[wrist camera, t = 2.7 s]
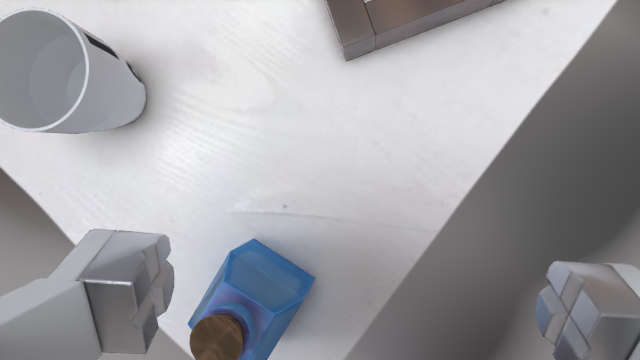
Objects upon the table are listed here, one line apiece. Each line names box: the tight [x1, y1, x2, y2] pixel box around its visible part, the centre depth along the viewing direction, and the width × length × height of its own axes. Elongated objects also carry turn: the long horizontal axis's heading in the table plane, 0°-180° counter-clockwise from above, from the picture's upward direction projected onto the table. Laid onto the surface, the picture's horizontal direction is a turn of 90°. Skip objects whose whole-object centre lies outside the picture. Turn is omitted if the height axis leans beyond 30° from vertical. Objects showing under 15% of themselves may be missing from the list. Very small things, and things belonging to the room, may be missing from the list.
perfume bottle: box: [188, 239, 315, 360], centre depth 31 cm, size 6×6×12 cm
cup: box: [0, 7, 146, 134], centre depth 33 cm, size 8×8×10 cm
